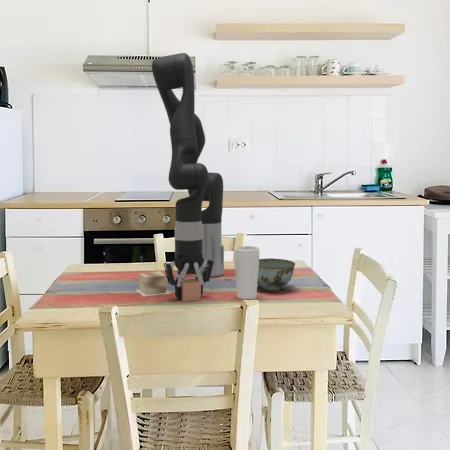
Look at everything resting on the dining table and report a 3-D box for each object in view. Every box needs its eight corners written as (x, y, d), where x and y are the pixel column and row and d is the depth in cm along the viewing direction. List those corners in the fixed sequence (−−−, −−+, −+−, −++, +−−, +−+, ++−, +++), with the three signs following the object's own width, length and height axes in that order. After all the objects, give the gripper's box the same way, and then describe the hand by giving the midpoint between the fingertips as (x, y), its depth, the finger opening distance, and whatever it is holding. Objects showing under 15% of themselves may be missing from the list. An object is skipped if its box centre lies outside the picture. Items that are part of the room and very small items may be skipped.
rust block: (194, 295, 187) (194, 277, 186) (200, 299, 182) (200, 281, 181) (177, 297, 185) (177, 279, 184) (183, 301, 180) (183, 283, 179)
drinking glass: (230, 299, 187) (230, 246, 185) (252, 297, 190) (252, 245, 187) (240, 305, 181) (240, 250, 179) (263, 302, 183) (263, 249, 181)
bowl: (242, 292, 195) (242, 265, 194) (256, 282, 208) (256, 256, 207) (288, 296, 191) (288, 268, 190) (299, 285, 203) (299, 259, 202)
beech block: (159, 288, 195) (159, 271, 194) (166, 292, 189) (166, 275, 188) (139, 290, 192) (139, 273, 191) (145, 295, 187) (145, 277, 186)
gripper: (207, 233, 187) (207, 292, 190) (159, 236, 182) (159, 297, 184) (218, 237, 180) (218, 299, 183) (168, 241, 175) (168, 304, 177)
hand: (188, 298), depth 183 cm, fingers closed on build board, rust block, 5 cm apart
